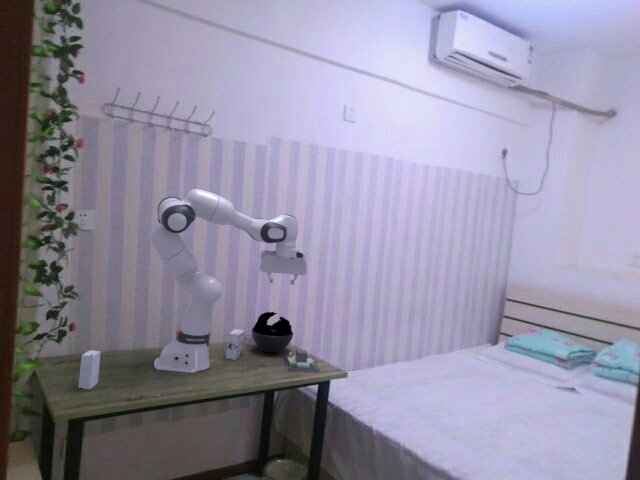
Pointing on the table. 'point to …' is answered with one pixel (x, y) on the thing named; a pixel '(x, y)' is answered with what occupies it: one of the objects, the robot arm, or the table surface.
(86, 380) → the skincare box
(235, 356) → the ink box
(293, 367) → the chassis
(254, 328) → the coal bowl
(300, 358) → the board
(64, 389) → the table surface
